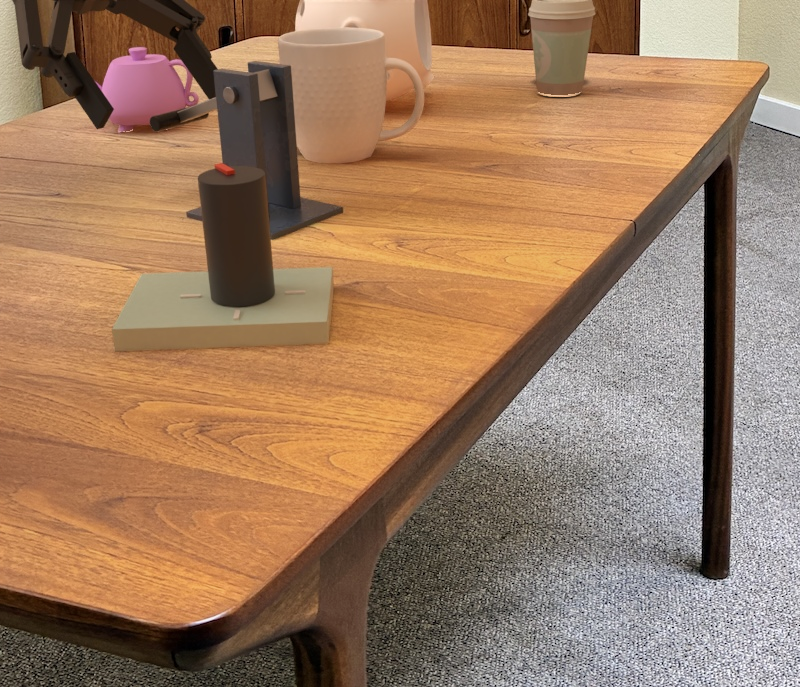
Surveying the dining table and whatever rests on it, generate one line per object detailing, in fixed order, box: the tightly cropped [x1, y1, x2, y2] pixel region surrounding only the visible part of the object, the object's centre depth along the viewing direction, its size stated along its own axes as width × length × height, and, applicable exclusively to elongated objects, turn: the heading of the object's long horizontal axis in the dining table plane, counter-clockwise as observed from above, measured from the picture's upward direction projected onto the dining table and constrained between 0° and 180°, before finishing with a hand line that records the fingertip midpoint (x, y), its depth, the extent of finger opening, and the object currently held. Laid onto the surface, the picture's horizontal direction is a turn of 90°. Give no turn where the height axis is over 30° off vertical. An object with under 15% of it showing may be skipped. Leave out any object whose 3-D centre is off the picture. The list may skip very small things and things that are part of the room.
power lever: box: [149, 69, 278, 133], centre depth 99 cm, size 13×6×2 cm, turn 51°
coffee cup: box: [527, 0, 596, 95], centre depth 142 cm, size 8×9×12 cm
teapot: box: [94, 46, 200, 132], centre depth 134 cm, size 10×15×9 cm
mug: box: [277, 27, 425, 165], centre depth 116 cm, size 15×11×13 cm
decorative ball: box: [294, 0, 435, 103], centre depth 137 cm, size 20×17×20 cm
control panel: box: [111, 266, 335, 352], centre depth 77 cm, size 14×10×3 cm
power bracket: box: [185, 60, 344, 241], centre depth 97 cm, size 11×9×14 cm
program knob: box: [197, 162, 275, 307], centre depth 74 cm, size 4×4×9 cm
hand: (164, 104), depth 104 cm, fingers open, 13 cm apart
